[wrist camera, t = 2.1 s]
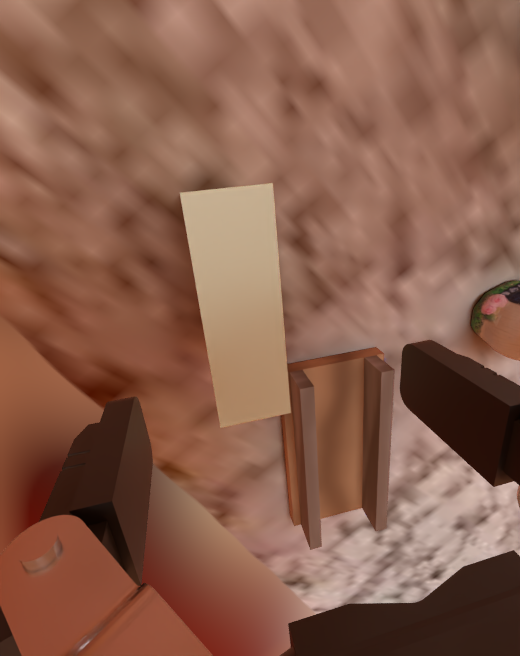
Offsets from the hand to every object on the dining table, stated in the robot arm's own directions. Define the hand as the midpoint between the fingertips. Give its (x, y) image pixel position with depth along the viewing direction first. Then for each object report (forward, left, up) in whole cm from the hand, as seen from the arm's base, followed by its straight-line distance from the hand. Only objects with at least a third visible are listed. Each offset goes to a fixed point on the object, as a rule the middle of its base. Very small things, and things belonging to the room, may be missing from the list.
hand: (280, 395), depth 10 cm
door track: (-9, +19, -19) cm, 29 cm away
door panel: (0, 0, -19) cm, 19 cm away
